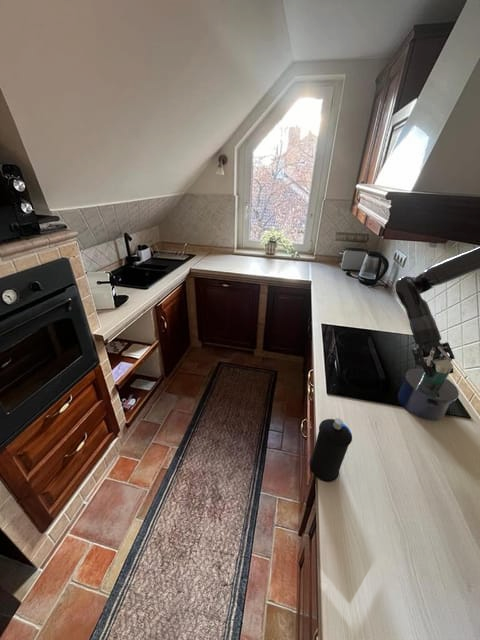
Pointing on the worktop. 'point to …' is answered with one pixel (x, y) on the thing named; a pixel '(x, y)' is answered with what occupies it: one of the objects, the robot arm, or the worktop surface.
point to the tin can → (437, 373)
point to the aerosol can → (330, 449)
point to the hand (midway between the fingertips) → (440, 375)
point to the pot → (426, 396)
